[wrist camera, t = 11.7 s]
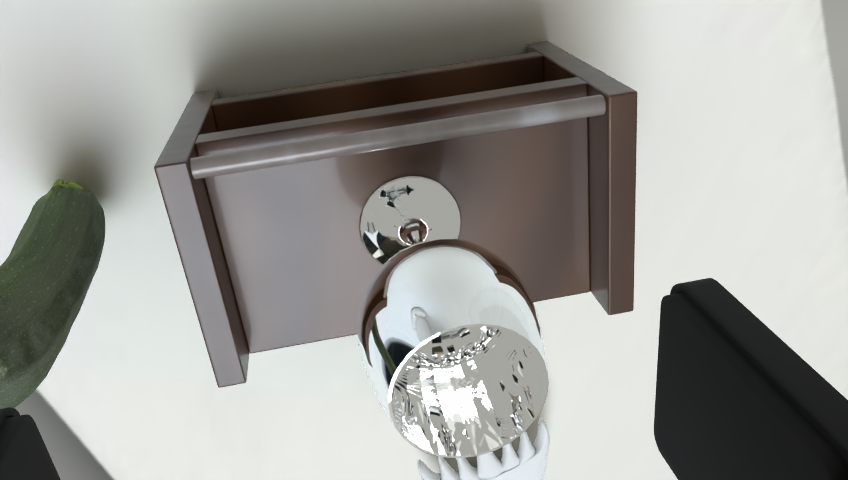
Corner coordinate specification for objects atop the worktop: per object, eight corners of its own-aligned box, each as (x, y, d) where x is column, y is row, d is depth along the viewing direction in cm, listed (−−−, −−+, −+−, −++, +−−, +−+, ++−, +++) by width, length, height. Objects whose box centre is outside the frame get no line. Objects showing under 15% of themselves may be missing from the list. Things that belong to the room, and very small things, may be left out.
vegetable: (142, 197, 38) (6, 460, 20) (105, 260, 39) (-54, 563, 21) (59, 154, 37) (-169, 399, 19) (23, 222, 38) (-224, 514, 20)
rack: (237, 268, 41) (218, 388, 31) (192, 92, 36) (153, 166, 26) (554, 214, 42) (634, 311, 32) (548, 40, 38) (638, 91, 28)
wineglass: (437, 300, 33) (505, 493, 22) (321, 256, 31) (333, 442, 20) (499, 192, 31) (604, 345, 21) (379, 138, 29) (426, 275, 19)
